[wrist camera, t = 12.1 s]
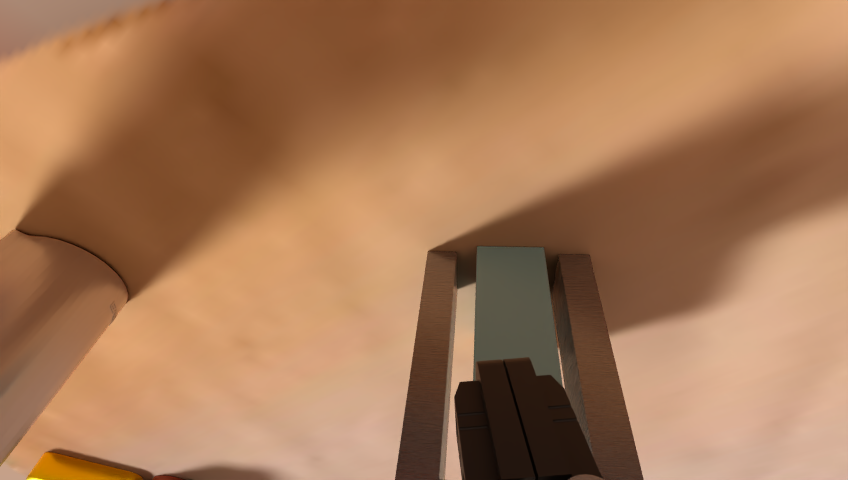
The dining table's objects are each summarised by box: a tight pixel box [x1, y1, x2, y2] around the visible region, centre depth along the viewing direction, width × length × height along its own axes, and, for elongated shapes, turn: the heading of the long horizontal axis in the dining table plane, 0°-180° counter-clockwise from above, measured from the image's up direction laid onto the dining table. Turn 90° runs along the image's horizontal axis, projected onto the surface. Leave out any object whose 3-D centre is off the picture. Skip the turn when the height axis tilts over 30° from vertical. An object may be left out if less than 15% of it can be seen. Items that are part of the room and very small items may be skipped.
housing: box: [395, 251, 643, 480], centre depth 25 cm, size 7×11×20 cm, turn 94°
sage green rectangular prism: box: [473, 246, 563, 387], centre depth 30 cm, size 13×4×12 cm, turn 5°
